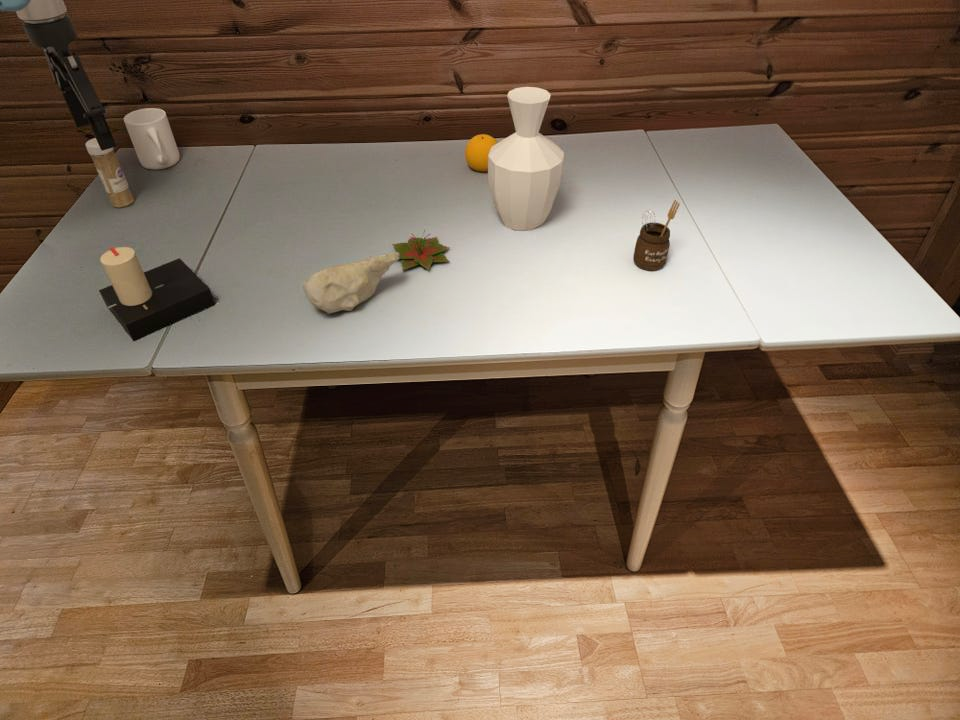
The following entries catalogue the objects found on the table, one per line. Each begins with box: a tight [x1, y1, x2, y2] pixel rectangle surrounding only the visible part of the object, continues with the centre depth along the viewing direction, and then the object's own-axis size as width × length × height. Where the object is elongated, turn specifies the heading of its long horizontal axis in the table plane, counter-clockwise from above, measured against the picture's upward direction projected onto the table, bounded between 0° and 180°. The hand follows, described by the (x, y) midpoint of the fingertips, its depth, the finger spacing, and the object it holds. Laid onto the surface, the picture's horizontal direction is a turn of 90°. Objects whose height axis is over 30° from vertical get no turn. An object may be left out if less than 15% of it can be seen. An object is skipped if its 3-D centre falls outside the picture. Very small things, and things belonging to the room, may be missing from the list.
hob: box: [98, 257, 216, 342], centre depth 110 cm, size 15×12×4 cm
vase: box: [487, 86, 565, 232], centre depth 123 cm, size 14×14×25 cm
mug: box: [123, 107, 181, 171], centre depth 145 cm, size 9×12×11 cm
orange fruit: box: [464, 133, 499, 172], centre depth 145 cm, size 8×8×8 cm
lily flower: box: [391, 230, 451, 272], centre depth 121 cm, size 12×12×5 cm
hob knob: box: [100, 246, 152, 306], centre depth 105 cm, size 5×5×8 cm
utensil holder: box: [633, 199, 681, 272], centre depth 116 cm, size 6×6×12 cm
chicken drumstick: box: [301, 251, 400, 315], centre depth 110 cm, size 15×7×15 cm
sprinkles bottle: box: [84, 137, 135, 208], centre depth 132 cm, size 5×5×14 cm
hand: (96, 136), depth 127 cm, fingers open, 13 cm apart
